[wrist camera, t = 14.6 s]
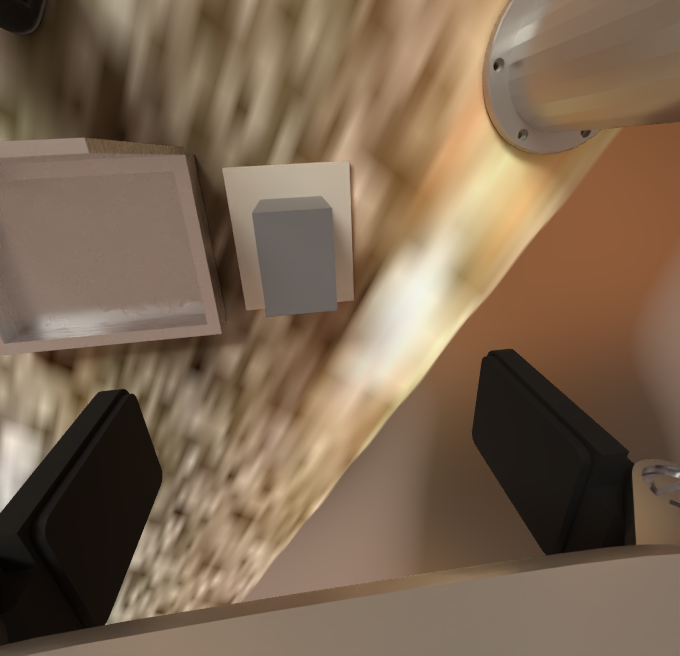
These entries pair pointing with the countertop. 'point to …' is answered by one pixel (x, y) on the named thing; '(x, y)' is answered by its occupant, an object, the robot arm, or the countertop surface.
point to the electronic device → (21, 15)
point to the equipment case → (103, 246)
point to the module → (296, 255)
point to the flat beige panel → (289, 183)
